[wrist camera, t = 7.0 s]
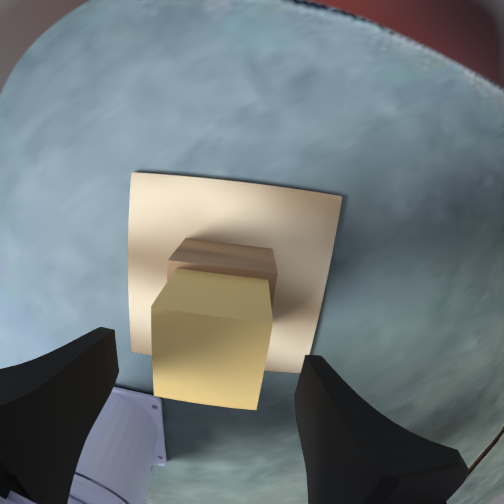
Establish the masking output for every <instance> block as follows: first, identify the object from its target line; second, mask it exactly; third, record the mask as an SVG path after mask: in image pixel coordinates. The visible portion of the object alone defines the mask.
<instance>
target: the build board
mask: <svg viewBox="0 0 504 504" xmlns="http://www.w3.org/2000/svg"><path fill="white" fill-rule="evenodd" d="M341 202H342V196H339V195H333V194H327V193H321V192H314V191H308V190H301V189H294V188H287V187H280V186H272V185H265V184H257V183H248V182H240V181H231V180H222V179H212V178H202V177H192V176H180V175H168V174H155V173H140V172H132V173H131V187H130V204H129V231H128V289H129V316H130V334H131V348H132V352H136V353H141V354H146V355H152V344H151V306H152V304H153V303H154V301H155V299H156V298H157V296H158V295H159V293H160V292H161V290H162V289H163V287H164V286H165V284H166V283H167V265H168V259H169V258H170V256H171V255H172V254H173V253H174V251H175V250H176V249H177V248H178V247H179V245H180V244H181V243H182V242H183V240H184V239H185V238H187V239H195V240H204V241H212V242H221V243H229V244H238V245H246V246H254V247H263V248H271V249H273V253H274V258H275V262H276V267H277V272H278V275H277V281H276V287H275V293H274V299H273V305H272V317H273V327H272V332H271V337H270V343H269V348H268V353H267V359H266V364H265V369H264V371H276V372H290V373H301V369H302V365H303V362H304V358H305V355H309V354H310V350H311V346H312V342H313V338H314V334H315V330H316V326H317V322H318V317H319V313H320V309H321V304H322V300H323V295H324V291H325V286H326V282H327V277H328V272H329V267H330V262H331V257H332V252H333V247H334V242H335V236H336V231H337V225H338V220H339V214H340V208H341Z"/></svg>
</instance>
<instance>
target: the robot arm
mask: <svg viewBox="0 0 504 504" xmlns="http://www.w3.org/2000/svg"><path fill="white" fill-rule="evenodd" d="M118 373H119V367H118V359H117V350H116V340H115V330H113V329H108V328H103V327H99V328H97V329H95V330H93V331H91V332H89V333H87V334H85V335H83V336H81V337H80V338H78V339H76V340H74V341H72V342H70V343H68V344H66V345H64V346H62V347H60V348H58V349H56V350H54V351H52V352H50V353H48V354H45V355H43V356H41V357H38V358H36V359H33V360H31V361H28V362H25V363H22V364H19V365H15V366H11V367H7V368H3V369H0V504H145V501H146V497H147V493H148V489H149V486H150V482H151V478H152V475H153V471H154V467H155V464H156V465H161V466H164V465H166V462H167V459H166V449H165V439H164V427H163V415H162V401H161V399H160V398H159V397H158V396H154V395H149V394H144V393H140V392H135V391H130V390H126V389H122V388H117V387H114V384H115V382H116V379H117V376H118ZM154 405H155V406H154ZM295 412H296V421H297V426H298V431H299V436H300V441H301V445H302V450H303V455H304V460H305V466H306V472H307V486H308V504H447V503H446V501H447V500H448V499H449V498H450V497H451V496H452V495H453V494H454V493H455V492H456V491H457V489H458V488H459V487H460V486H461V485H462V484H463V482H464V481H465V479H466V477H467V475H468V467H467V465H466V464H465V462H464V460H463V458H462V457H461V455H460V453H459V452H458V450H456V449H453V448H450V447H447V446H443V445H440V444H437V443H434V442H432V441H429V440H427V439H425V438H423V437H420V436H418V435H416V434H414V433H412V432H410V431H408V430H406V429H404V428H403V427H401V426H399V425H398V424H396V423H394V422H393V421H391V420H390V419H388V418H386V417H385V416H384V415H382V414H381V413H380V412H378V411H377V410H376V409H374V408H373V407H372V406H370V405H369V404H368V403H367V402H366V401H365V400H363V399H362V398H361V397H360V396H359V395H358V394H357V393H356V392H355V391H354V390H353V389H352V388H351V387H350V386H349V385H348V384H347V383H346V382H345V381H344V380H343V379H342V378H341V377H340V376H339V375H338V374H337V373H336V372H335V370H334V369H333V368H332V367H331V366H330V365H329V364H328V363H327V362H326V360H325V359H324V358H323V357H322V356H317V355H305V358H304V362H303V365H302V369H301V373H300V377H299V381H298V385H297V388H296V392H295Z"/></svg>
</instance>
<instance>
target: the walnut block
mask: <svg viewBox="0 0 504 504" xmlns="http://www.w3.org/2000/svg"><path fill="white" fill-rule="evenodd" d="M176 268H179V269H187V270H194V271H202V272H209V273H217V274H225V275H233V276H241V277H249V278H257V279H266V280H268V283H269V291H270V300H271V308H272V305H273V299H274V293H275V287H276V281H277V275H278V272H277V267H276V262H275V258H274V253H273V249H271V248H263V247H254V246H246V245H238V244H229V243H221V242H212V241H204V240H195V239H187V238H185V239H184V240H183V242H182V243H181V244H180V245H179V247H178V248H177V249H176V250H175V251H174V253H173V254H172V255H171V256H170V258H169V259H168V265H167V281H168V280H169V278H170V277H171V275H172V274H173V272H174V271H175V269H176Z"/></svg>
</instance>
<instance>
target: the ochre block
mask: <svg viewBox="0 0 504 504" xmlns="http://www.w3.org/2000/svg"><path fill="white" fill-rule="evenodd" d="M272 327H273V317H272V308H271V300H270V291H269V283H268V280H266V279H257V278H249V277H241V276H233V275H225V274H217V273H209V272H202V271H194V270H187V269H179V268H176V269H175V271H174V272H173V274H172V275H171V277H170V278H169V280H168V281H167V283H166V284H165V286H164V287H163V289H162V290H161V292H160V293H159V295H158V296H157V298H156V299H155V301H154V303H153V304H152V306H151V344H152V370H153V388H154V396H158V397H163V398H169V399H174V400H180V401H186V402H192V403H199V404H206V405H213V406H221V407H229V408H239V409H249V410H256V409H257V404H258V399H259V394H260V389H261V384H262V379H263V374H264V369H265V364H266V359H267V353H268V348H269V343H270V337H271V332H272Z"/></svg>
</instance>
